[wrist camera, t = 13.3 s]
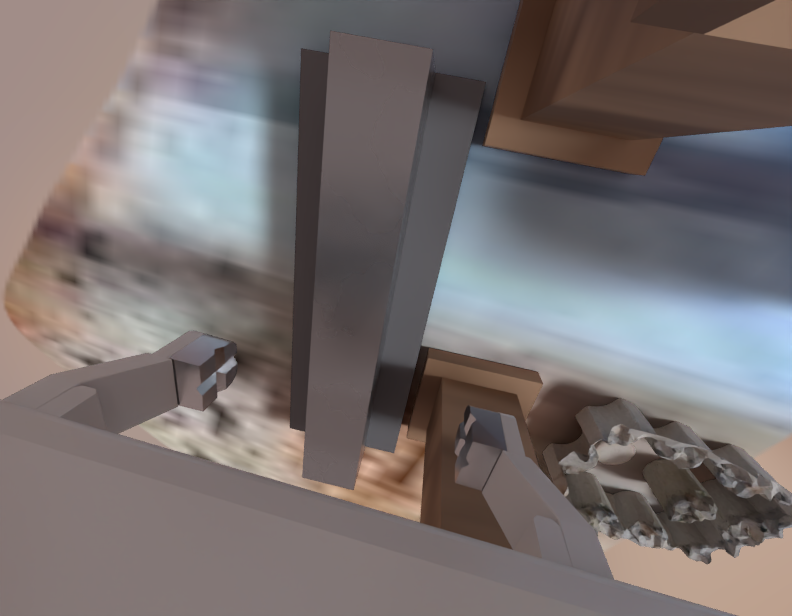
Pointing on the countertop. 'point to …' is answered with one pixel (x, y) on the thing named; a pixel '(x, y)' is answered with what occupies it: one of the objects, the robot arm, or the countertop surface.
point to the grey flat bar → (422, 244)
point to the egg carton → (669, 486)
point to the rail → (360, 237)
